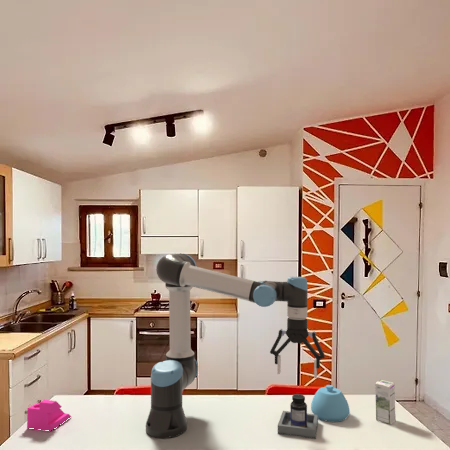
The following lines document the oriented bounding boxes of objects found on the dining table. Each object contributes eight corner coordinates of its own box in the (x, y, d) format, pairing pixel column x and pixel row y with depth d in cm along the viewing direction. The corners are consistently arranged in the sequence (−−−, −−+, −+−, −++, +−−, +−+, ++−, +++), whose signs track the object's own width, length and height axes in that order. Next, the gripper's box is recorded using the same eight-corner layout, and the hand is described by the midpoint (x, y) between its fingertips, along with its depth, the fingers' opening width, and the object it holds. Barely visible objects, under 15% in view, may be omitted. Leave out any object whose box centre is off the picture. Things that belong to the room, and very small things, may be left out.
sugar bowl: (335, 427, 149) (335, 395, 149) (303, 414, 160) (303, 385, 161) (356, 415, 159) (356, 386, 159) (325, 404, 170) (324, 377, 170)
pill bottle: (295, 421, 152) (295, 392, 152) (310, 426, 148) (309, 395, 149) (287, 427, 147) (287, 396, 148) (302, 431, 143) (301, 400, 144)
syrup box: (396, 420, 154) (395, 382, 155) (390, 425, 150) (389, 386, 151) (381, 415, 158) (380, 379, 159) (375, 420, 154) (374, 382, 155)
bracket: (50, 432, 144) (51, 403, 145) (26, 429, 147) (27, 400, 148) (71, 418, 156) (71, 392, 157) (48, 416, 159) (49, 389, 159)
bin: (277, 433, 143) (277, 425, 143) (283, 418, 156) (282, 410, 156) (315, 438, 139) (315, 430, 139) (317, 422, 152) (317, 414, 152)
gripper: (262, 317, 150) (262, 374, 149) (331, 321, 143) (331, 381, 142) (266, 314, 157) (266, 368, 156) (331, 318, 150) (331, 375, 149)
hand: (297, 375), depth 149 cm, fingers open, 13 cm apart
